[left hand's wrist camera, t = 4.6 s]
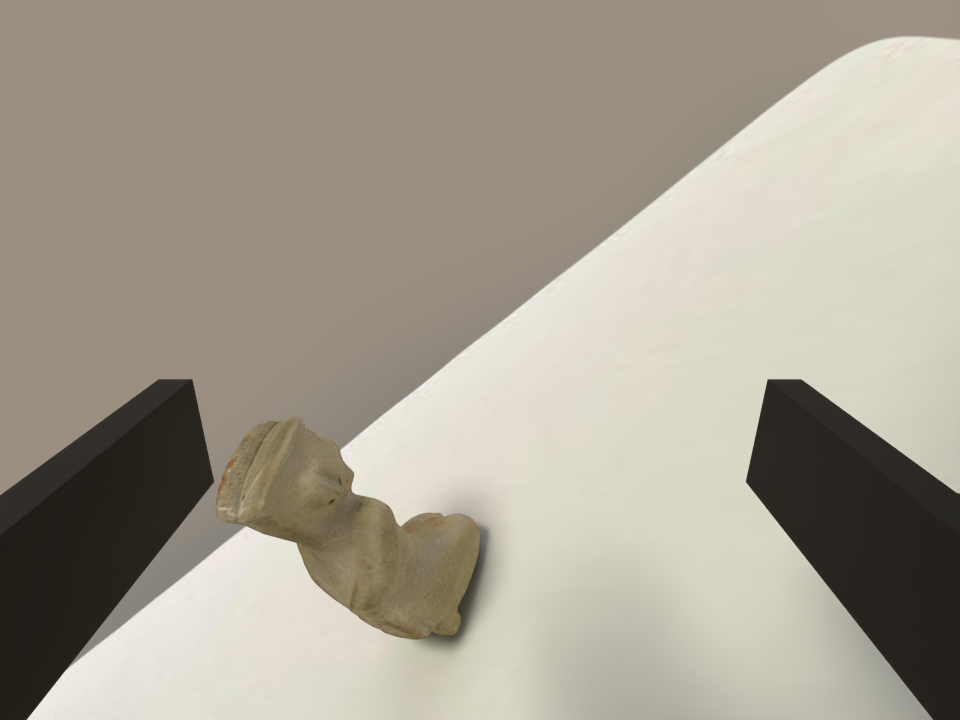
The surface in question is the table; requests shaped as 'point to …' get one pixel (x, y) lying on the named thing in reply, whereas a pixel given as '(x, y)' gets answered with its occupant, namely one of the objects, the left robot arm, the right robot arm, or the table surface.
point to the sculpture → (350, 531)
